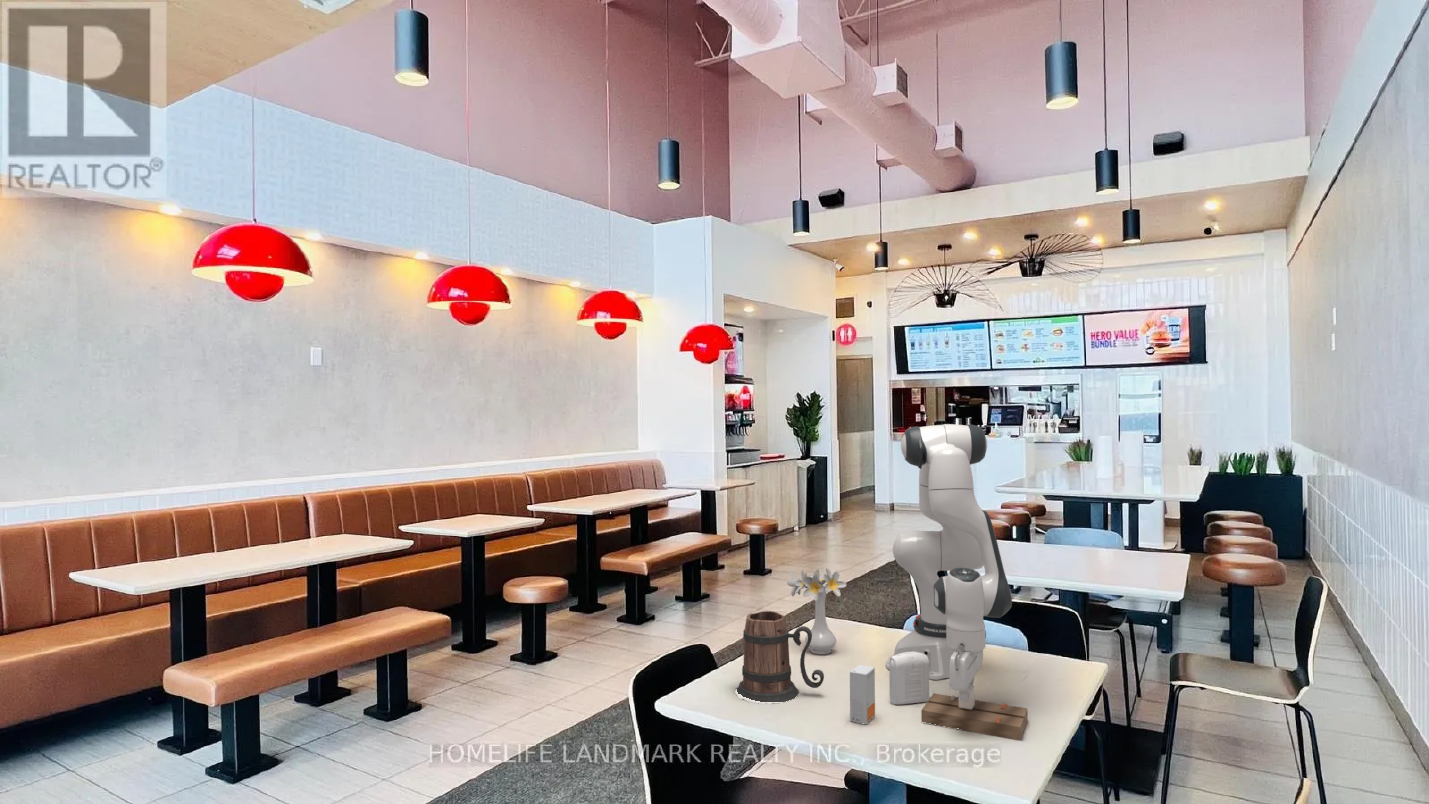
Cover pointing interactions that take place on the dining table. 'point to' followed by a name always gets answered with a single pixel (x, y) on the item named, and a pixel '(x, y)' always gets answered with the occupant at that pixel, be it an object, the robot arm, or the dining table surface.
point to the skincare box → (862, 694)
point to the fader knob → (971, 700)
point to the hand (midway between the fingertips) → (966, 697)
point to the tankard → (771, 659)
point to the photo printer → (909, 678)
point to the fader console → (976, 716)
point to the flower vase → (818, 606)
